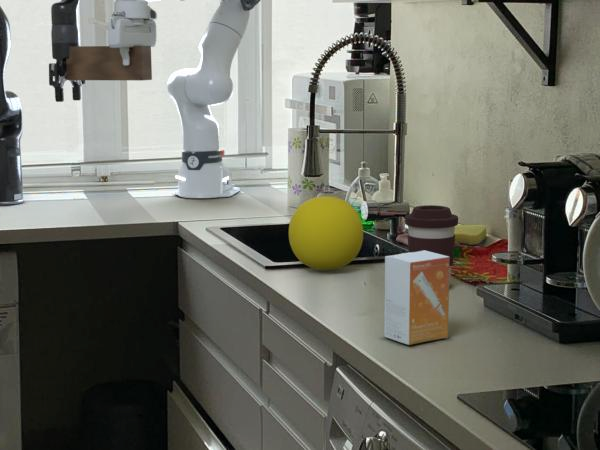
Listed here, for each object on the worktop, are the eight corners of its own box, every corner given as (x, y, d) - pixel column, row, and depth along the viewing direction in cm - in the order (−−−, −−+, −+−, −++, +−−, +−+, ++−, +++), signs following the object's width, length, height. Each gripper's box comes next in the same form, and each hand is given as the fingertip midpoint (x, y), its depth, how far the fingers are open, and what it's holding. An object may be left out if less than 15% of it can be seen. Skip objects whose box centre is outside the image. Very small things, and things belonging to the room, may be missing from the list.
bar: (67, 80, 285) (65, 46, 283) (77, 79, 290) (76, 46, 288) (142, 80, 277) (141, 45, 275) (152, 79, 282) (150, 45, 280)
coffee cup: (400, 280, 202) (400, 204, 200) (450, 279, 203) (451, 203, 201) (409, 292, 193) (410, 212, 190) (462, 291, 193) (463, 211, 191)
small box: (409, 346, 158) (409, 262, 156) (383, 337, 163) (383, 255, 161) (449, 337, 162) (450, 255, 160) (423, 329, 168) (424, 249, 166)
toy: (345, 259, 223) (344, 190, 221) (374, 273, 209) (374, 199, 207) (278, 265, 218) (278, 194, 216) (304, 279, 204) (304, 204, 202)
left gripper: (62, 41, 278) (65, 102, 281) (91, 41, 291) (93, 99, 294) (38, 41, 281) (42, 102, 284) (68, 41, 294) (70, 99, 297)
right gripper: (122, 11, 267) (124, 65, 269) (159, 13, 286) (161, 64, 288) (100, 11, 269) (103, 65, 272) (139, 13, 288) (141, 64, 290)
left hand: (68, 101), depth 289 cm, fingers open, 8 cm apart
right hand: (133, 65), depth 280 cm, fingers closed on bar, 5 cm apart
